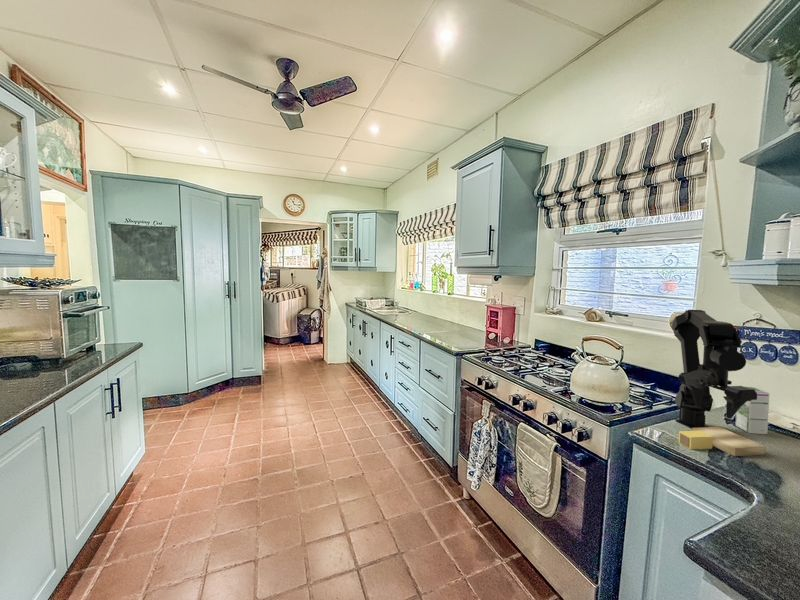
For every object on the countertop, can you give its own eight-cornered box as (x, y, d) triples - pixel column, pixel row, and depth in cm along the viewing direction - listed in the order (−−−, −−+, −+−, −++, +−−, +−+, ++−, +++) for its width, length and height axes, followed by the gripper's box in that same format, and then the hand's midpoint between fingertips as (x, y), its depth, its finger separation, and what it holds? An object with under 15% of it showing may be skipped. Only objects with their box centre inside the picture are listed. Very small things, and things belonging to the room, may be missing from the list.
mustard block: (699, 442, 104) (678, 443, 103) (700, 430, 103) (678, 431, 103) (712, 449, 100) (689, 449, 99) (712, 436, 99) (690, 437, 99)
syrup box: (768, 434, 108) (771, 392, 107) (747, 433, 109) (750, 391, 109) (753, 427, 114) (756, 387, 113) (733, 425, 115) (736, 386, 114)
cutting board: (691, 435, 108) (691, 427, 108) (718, 433, 109) (718, 426, 109) (734, 456, 95) (735, 448, 95) (764, 454, 96) (765, 446, 96)
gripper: (664, 356, 109) (662, 401, 109) (724, 371, 90) (721, 426, 91) (694, 355, 110) (692, 400, 110) (760, 371, 91) (757, 424, 92)
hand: (712, 412), depth 101 cm, fingers open, 9 cm apart
